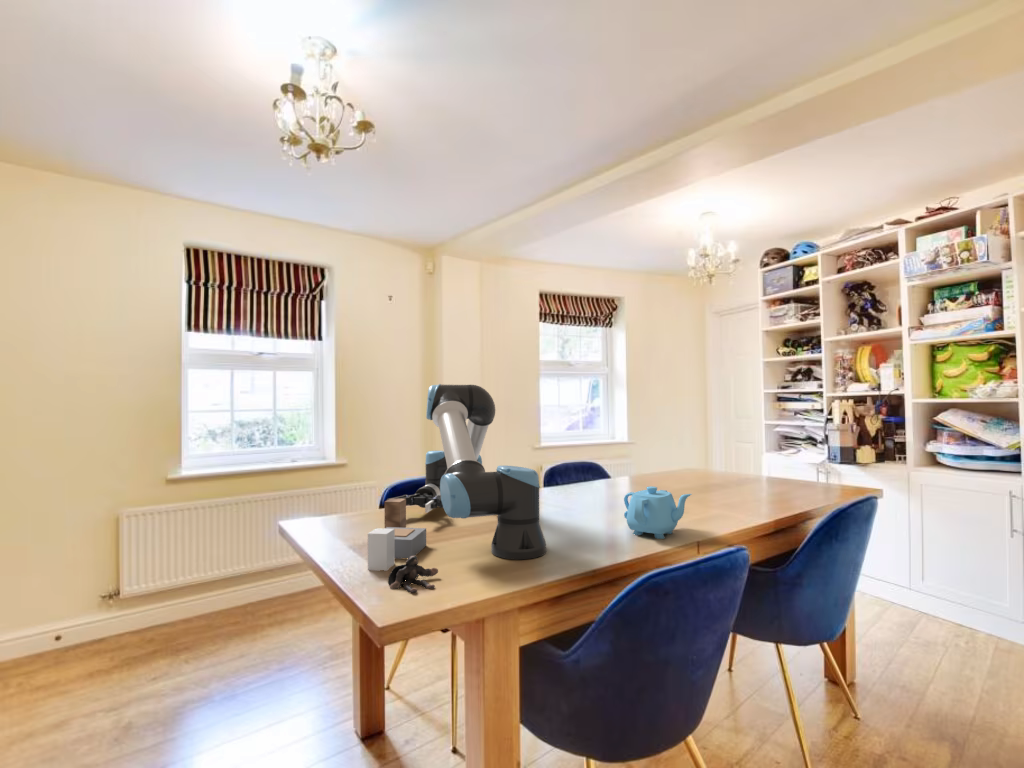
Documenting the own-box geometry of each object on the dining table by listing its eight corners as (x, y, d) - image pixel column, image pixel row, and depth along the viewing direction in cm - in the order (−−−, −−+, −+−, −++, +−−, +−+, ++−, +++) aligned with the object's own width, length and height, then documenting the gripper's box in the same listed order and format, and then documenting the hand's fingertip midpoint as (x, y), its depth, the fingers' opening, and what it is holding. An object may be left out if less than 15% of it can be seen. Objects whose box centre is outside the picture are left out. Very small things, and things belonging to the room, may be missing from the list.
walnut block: (406, 533, 156) (405, 498, 157) (400, 538, 152) (399, 501, 152) (390, 533, 157) (390, 498, 158) (384, 537, 152) (384, 501, 153)
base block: (426, 545, 143) (426, 527, 143) (411, 558, 131) (411, 538, 131) (386, 544, 145) (386, 526, 145) (368, 557, 133) (368, 537, 133)
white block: (394, 564, 127) (394, 528, 128) (386, 570, 122) (386, 534, 123) (376, 563, 128) (376, 528, 128) (367, 569, 123) (367, 533, 123)
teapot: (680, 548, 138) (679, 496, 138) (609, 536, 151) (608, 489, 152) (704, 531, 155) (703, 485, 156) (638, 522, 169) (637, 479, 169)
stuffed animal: (396, 593, 105) (385, 549, 114) (391, 621, 110) (380, 577, 119) (449, 582, 111) (433, 541, 120) (441, 610, 116) (427, 568, 125)
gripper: (459, 506, 183) (443, 520, 162) (395, 505, 187) (371, 518, 166) (459, 486, 183) (442, 497, 162) (395, 485, 187) (371, 495, 166)
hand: (406, 508), depth 164 cm, fingers open, 13 cm apart
